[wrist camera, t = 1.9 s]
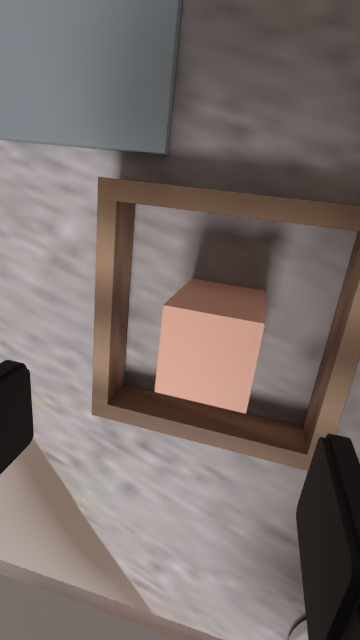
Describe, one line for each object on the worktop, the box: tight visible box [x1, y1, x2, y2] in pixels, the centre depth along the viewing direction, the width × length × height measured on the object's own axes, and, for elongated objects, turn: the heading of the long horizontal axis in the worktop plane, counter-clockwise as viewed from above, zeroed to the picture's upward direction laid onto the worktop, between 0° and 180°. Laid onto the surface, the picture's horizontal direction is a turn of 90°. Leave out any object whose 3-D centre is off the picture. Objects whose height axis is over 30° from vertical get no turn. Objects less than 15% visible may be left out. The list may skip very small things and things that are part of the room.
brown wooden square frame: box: [92, 177, 360, 471], centre depth 22 cm, size 16×16×3 cm
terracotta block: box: [155, 279, 266, 414], centre depth 20 cm, size 5×5×7 cm
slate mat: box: [0, 0, 182, 155], centre depth 20 cm, size 12×12×1 cm
